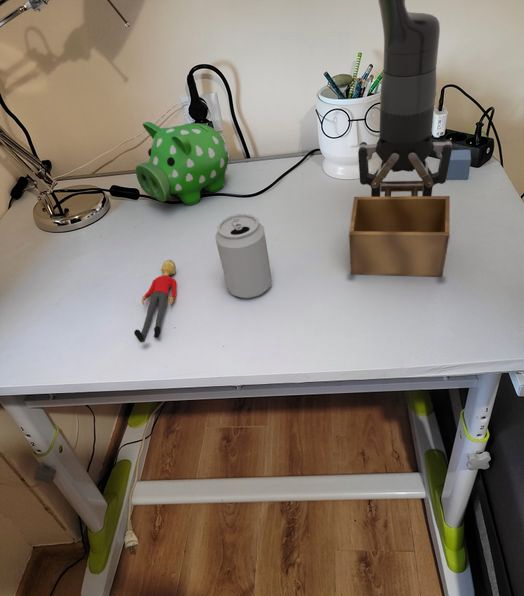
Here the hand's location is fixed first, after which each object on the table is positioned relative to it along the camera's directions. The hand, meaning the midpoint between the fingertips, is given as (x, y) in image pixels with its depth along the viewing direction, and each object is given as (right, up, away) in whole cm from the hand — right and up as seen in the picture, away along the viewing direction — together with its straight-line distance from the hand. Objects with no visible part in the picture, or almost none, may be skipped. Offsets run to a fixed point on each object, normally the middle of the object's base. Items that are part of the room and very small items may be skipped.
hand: (400, 205), depth 84 cm
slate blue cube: (+15, +10, +15) cm, 23 cm away
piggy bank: (-38, +9, +24) cm, 46 cm away
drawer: (-3, -10, -8) cm, 13 cm away
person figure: (-40, -16, 0) cm, 43 cm away
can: (-25, -14, -1) cm, 29 cm away
